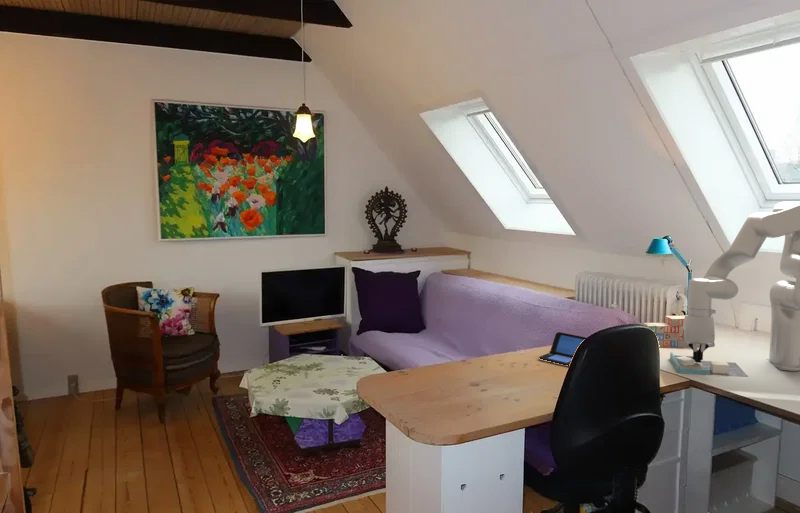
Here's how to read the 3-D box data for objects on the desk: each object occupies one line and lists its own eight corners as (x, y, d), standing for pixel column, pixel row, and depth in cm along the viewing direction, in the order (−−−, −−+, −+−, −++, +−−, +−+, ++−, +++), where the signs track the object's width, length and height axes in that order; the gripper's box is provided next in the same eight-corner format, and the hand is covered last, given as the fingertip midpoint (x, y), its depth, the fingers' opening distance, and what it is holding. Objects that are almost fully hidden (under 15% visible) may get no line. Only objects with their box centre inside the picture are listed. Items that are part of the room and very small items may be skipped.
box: (699, 364, 218) (699, 354, 218) (709, 378, 202) (709, 367, 201) (670, 362, 221) (670, 352, 220) (677, 376, 205) (677, 365, 204)
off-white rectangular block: (725, 369, 206) (726, 361, 206) (728, 373, 202) (729, 365, 202) (709, 369, 208) (710, 360, 207) (712, 372, 203) (713, 364, 203)
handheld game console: (537, 360, 228) (537, 337, 227) (556, 353, 237) (556, 331, 236) (573, 369, 216) (573, 344, 215) (591, 361, 225) (592, 338, 224)
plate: (735, 366, 215) (735, 362, 214) (748, 381, 198) (748, 376, 198) (699, 364, 218) (699, 360, 218) (709, 378, 202) (709, 374, 202)
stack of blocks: (647, 348, 242) (648, 318, 241) (642, 344, 249) (643, 315, 247) (700, 347, 241) (702, 318, 240) (694, 343, 247) (695, 315, 246)
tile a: (694, 367, 213) (694, 359, 213) (684, 368, 212) (684, 360, 212) (684, 363, 218) (684, 356, 218) (674, 365, 217) (674, 357, 217)
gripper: (719, 311, 213) (717, 360, 215) (675, 309, 217) (673, 357, 220) (724, 315, 206) (722, 365, 208) (678, 313, 210) (677, 363, 212)
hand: (697, 361), depth 214 cm, fingers closed
